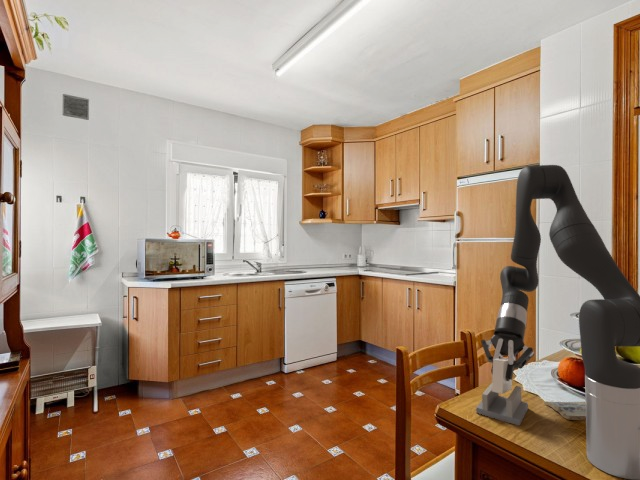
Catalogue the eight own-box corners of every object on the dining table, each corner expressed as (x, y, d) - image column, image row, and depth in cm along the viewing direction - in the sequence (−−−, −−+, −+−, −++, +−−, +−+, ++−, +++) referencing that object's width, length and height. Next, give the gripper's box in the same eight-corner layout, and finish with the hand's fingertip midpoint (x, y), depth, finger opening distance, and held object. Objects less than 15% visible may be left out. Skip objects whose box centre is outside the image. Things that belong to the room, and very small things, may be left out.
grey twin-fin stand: (528, 408, 94) (527, 388, 94) (519, 425, 85) (518, 403, 85) (488, 398, 100) (487, 379, 100) (476, 413, 92) (475, 392, 92)
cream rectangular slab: (511, 389, 96) (512, 359, 97) (502, 393, 89) (503, 361, 90) (501, 387, 98) (502, 357, 99) (491, 391, 90) (493, 359, 92)
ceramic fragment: (563, 416, 87) (542, 393, 97) (562, 427, 87) (542, 403, 97) (610, 418, 86) (584, 394, 95) (609, 429, 86) (583, 404, 96)
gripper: (482, 312, 104) (470, 365, 95) (536, 318, 95) (528, 378, 86) (488, 326, 108) (476, 378, 99) (540, 333, 99) (533, 391, 90)
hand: (501, 378), depth 93 cm, fingers closed on cream rectangular slab, 2 cm apart
